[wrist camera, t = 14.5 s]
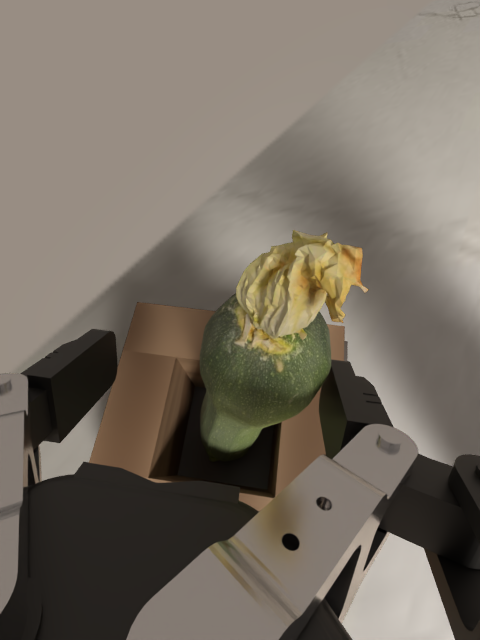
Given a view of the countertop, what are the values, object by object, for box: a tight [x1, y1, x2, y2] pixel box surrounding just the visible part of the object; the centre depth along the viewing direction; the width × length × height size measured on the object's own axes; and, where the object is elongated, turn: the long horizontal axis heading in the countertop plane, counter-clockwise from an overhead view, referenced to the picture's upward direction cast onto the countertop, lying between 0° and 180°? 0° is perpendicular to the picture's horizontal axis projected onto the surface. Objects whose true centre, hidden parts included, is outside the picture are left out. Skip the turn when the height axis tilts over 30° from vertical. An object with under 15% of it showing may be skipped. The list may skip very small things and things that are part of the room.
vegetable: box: [200, 230, 369, 462], centre depth 14 cm, size 4×4×20 cm
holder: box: [89, 302, 347, 512], centre depth 20 cm, size 16×16×8 cm
